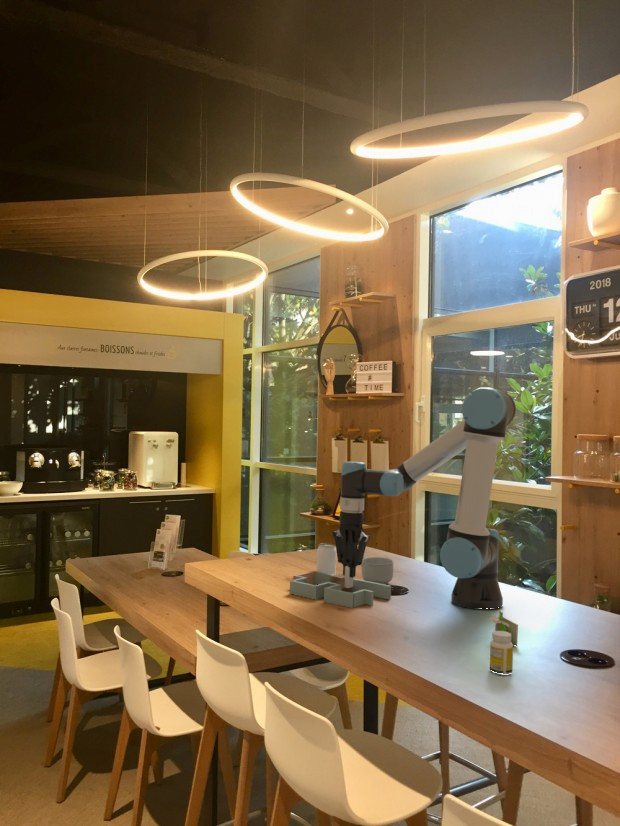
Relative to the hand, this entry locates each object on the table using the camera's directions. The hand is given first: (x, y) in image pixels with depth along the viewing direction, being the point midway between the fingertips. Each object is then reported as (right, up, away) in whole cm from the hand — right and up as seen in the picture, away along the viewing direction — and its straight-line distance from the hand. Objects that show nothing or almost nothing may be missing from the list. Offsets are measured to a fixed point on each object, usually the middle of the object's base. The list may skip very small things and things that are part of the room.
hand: (348, 587), depth 217 cm
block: (-2, -2, +2) cm, 4 cm away
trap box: (-4, -2, -3) cm, 6 cm away
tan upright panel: (+36, -3, -45) cm, 58 cm away
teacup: (+10, -3, +17) cm, 20 cm away
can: (-7, -2, +17) cm, 18 cm away
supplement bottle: (+29, -2, -66) cm, 72 cm away
